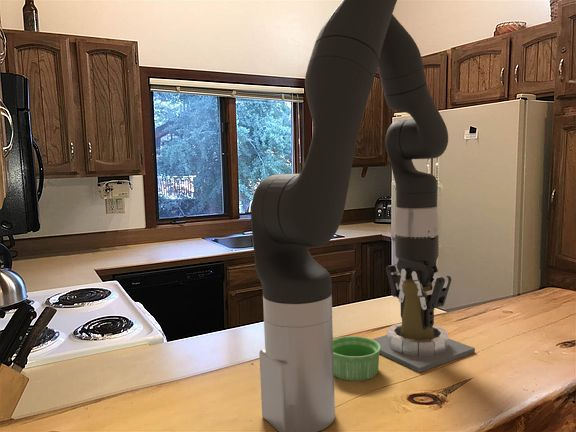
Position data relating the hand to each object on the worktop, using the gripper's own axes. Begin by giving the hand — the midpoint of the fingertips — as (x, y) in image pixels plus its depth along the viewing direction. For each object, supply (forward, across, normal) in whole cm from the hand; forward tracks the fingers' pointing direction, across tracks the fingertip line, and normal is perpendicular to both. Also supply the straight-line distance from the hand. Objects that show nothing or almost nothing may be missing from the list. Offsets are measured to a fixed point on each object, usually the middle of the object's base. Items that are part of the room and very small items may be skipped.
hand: (416, 324), depth 85 cm
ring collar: (+5, 0, 0) cm, 5 cm away
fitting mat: (+5, 0, 0) cm, 5 cm away
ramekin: (+5, 0, -15) cm, 16 cm away
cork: (+2, 0, 0) cm, 2 cm away
